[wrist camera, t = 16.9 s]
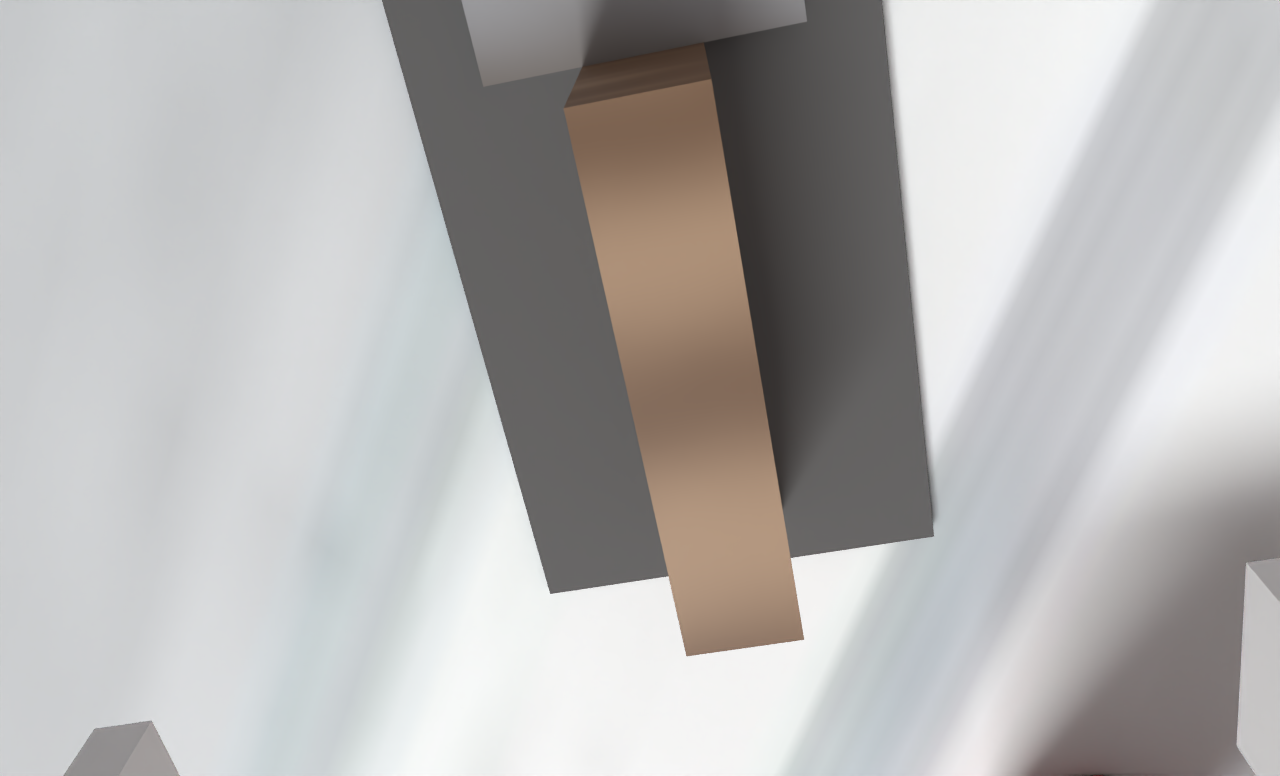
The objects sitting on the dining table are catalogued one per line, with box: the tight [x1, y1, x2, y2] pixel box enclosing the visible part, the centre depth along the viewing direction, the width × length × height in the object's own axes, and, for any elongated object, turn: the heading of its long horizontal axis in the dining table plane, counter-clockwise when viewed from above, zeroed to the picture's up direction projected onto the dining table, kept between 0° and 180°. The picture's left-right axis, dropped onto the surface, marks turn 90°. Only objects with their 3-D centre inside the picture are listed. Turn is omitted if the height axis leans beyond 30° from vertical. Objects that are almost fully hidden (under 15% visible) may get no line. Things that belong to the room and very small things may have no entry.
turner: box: [462, 0, 807, 656], centre depth 25 cm, size 24×8×6 cm, turn 11°
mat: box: [382, 0, 934, 594], centre depth 28 cm, size 12×28×1 cm, turn 11°
